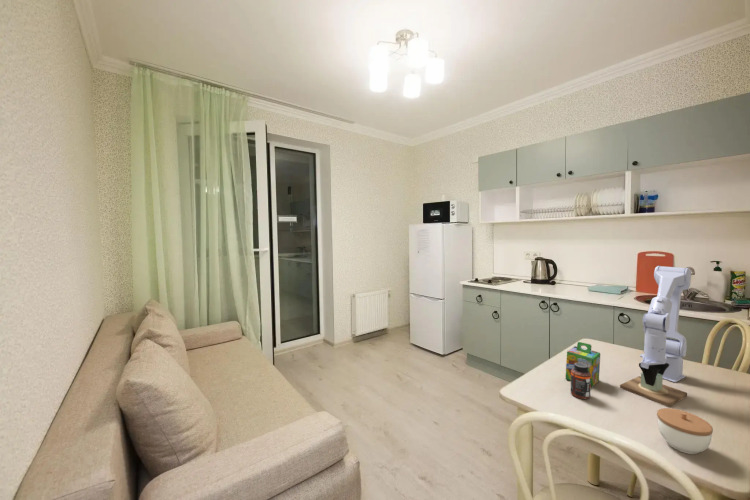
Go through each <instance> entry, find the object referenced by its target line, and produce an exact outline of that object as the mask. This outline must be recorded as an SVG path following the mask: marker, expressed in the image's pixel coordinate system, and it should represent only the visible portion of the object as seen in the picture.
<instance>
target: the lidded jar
mask: <svg viewBox="0 0 750 500" xmlns="http://www.w3.org/2000/svg"><path fill="white" fill-rule="evenodd" d="M656 416H657V417H656V418H657V420H656V421H657V426H658V430H659V433H660V435H661V436H662V438H663V439H664V440H665V441H666V442H667V444H668V445H669V447H672V448H673V449H675V450H676V451H679V452H681V453H684V454H689V455H697V454H699V453H702V452H704V451H705V450H707V449H708V448H709V447H710V444H711V442H712V437H713V431H714V429H713V426H712V425H711V424H710V423H709V422H708V421H707V420H705V419H703V418H702V417H700V416H698V415H696V414H693V413H691V412H687V411H684V410H682V409H676V408H671V407H664V408H663V407H662V408H660V409H658V410H657V411H656Z"/></svg>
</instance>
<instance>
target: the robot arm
mask: <svg viewBox="0 0 750 500" xmlns="http://www.w3.org/2000/svg"><path fill="white" fill-rule="evenodd" d="M653 278H654V280H655V282H656V284H657V286H658V288H657V296H655V297H653V298H652V299H651V301H650V304H649V307H648V311H647V313H643V317H642V327H643V333H644V342H643V343H644V344H643V347H644V348H643V353H641V354H639V357H640V358H642V360H641V361H640V362H639V363H638V367H639V368H640V370H641V373H642V372H643V375H644V379H645V382H646V384H648V385H651V386H654V384H655V380H656V376H657V374H661V375H663V380H666V381H670V382H673V383H676V382H679V381H681V380H683V379H684V378H686V377H687V376H686V375H685V374H683V369H684V357H686V354H687V348H688V347H687V339H686V337H685V336H684V335H683V334H681V333H680V332H679V331H678V327H679V318H680V308H681V299H682V294H683V292H684V291H686V290H689V289H690V287H691V280H692V269H691V268H689V267H679V266H678V267H676V266H675V267H674V266H663V265H662V266H661V265H657V266H656V267H655V268H654V272H653Z"/></svg>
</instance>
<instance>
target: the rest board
mask: <svg viewBox="0 0 750 500" xmlns="http://www.w3.org/2000/svg"><path fill="white" fill-rule="evenodd" d="M619 388H620V389H622V390H624V391H627V392H630V393H632V394H634V395H637V396H640V397H642V398H644V399H647V400H649V401H652V402H655V403H657V404H659V405H662V406H664V407H665V406H666V408H671V407H672V406H673V405H675V404H677V403H678V402H680V401H682V400H683V399H685V398H687V397H688V392H685V391H683V390H680V389H677V388H674V387H672V386H669V385H666V384H663V383H662V389H660V390H658V391H653V390H650V389H648V388H645V387H642V386H641V375H639V376H637V377H634V378H632V379H629V380H628V381H625V382H624V383H621V384H620V385H619Z"/></svg>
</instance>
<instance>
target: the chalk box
mask: <svg viewBox="0 0 750 500" xmlns="http://www.w3.org/2000/svg"><path fill="white" fill-rule="evenodd" d="M583 346H584V347H586V348H584V347H583ZM565 361H566V363H565V380H568V381H570V382H571V370H572V369H573V368H575V367H574V364H575V363H583V364H586V365H587V366H588V371H589V372H590V374H591V389H592V388H593V387H595V385H596V384H597V383H598V382H599V381H600V369H601V367H600V366H601V353H600V352H599V351H595V350H592V344H590V343H586V342H582V341H577V345H576V346H573V347H572V348H570V349H568V350H567V352H566V360H565Z"/></svg>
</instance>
